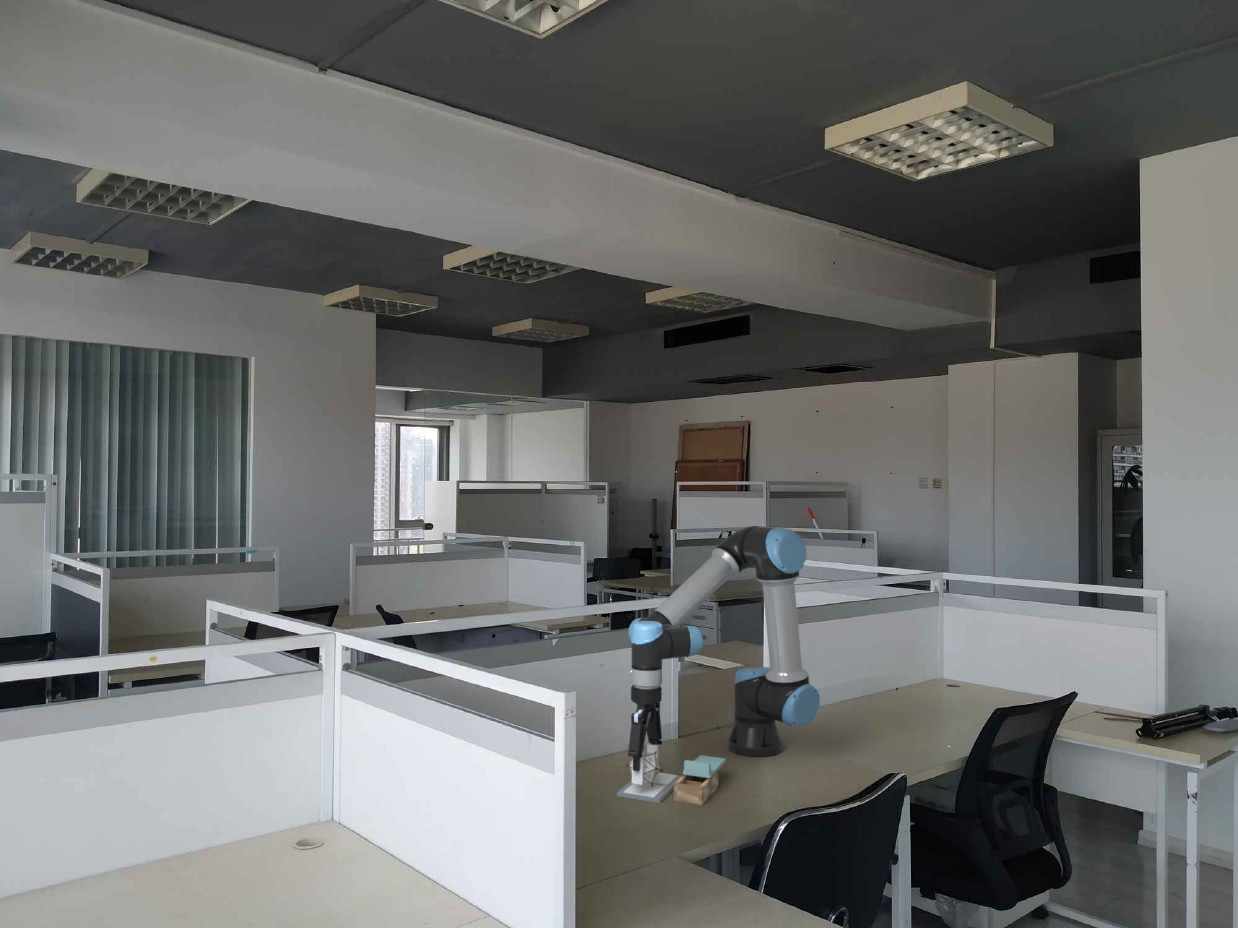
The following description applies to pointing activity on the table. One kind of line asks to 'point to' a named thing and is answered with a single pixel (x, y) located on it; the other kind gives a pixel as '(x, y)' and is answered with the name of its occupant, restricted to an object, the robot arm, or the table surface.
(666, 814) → the table surface
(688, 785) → the box
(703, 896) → the table surface
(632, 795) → the board
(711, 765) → the lid
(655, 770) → the game die
